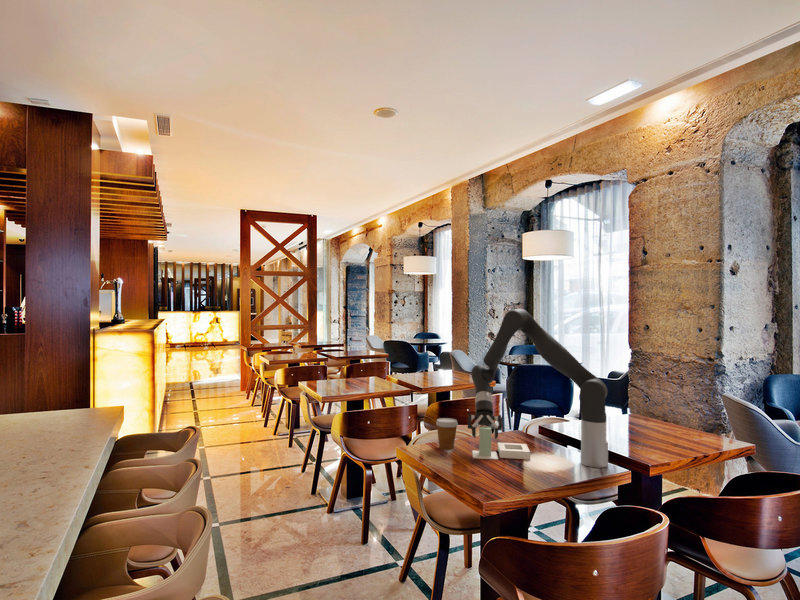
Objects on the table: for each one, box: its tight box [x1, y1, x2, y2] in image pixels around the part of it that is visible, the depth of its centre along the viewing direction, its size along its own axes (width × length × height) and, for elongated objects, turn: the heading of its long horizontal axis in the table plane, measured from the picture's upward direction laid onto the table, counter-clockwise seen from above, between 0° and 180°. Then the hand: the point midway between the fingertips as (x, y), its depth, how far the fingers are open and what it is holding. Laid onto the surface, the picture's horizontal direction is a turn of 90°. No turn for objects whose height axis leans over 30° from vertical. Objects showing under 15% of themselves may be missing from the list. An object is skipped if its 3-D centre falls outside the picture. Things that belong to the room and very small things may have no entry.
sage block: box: [478, 425, 492, 456], centre depth 192 cm, size 5×5×11 cm
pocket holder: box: [497, 442, 531, 460], centre depth 195 cm, size 12×12×3 cm
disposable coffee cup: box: [435, 417, 459, 451], centre depth 202 cm, size 10×10×12 cm
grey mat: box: [471, 450, 499, 461], centre depth 192 cm, size 10×10×1 cm
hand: (485, 437), depth 191 cm, fingers open, 8 cm apart
